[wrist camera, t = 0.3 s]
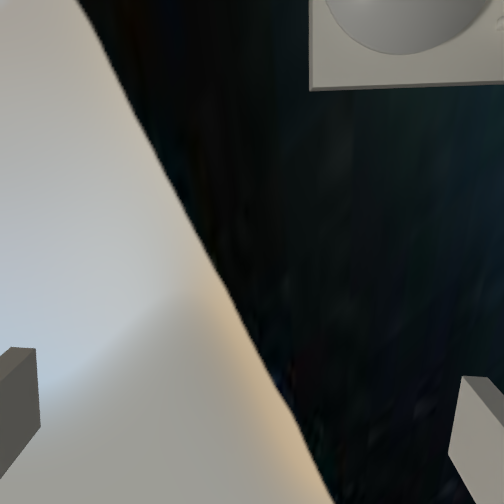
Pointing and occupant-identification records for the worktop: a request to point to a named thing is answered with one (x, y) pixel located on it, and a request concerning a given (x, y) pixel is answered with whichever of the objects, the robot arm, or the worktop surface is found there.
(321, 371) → the worktop surface
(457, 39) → the scale
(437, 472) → the worktop surface
